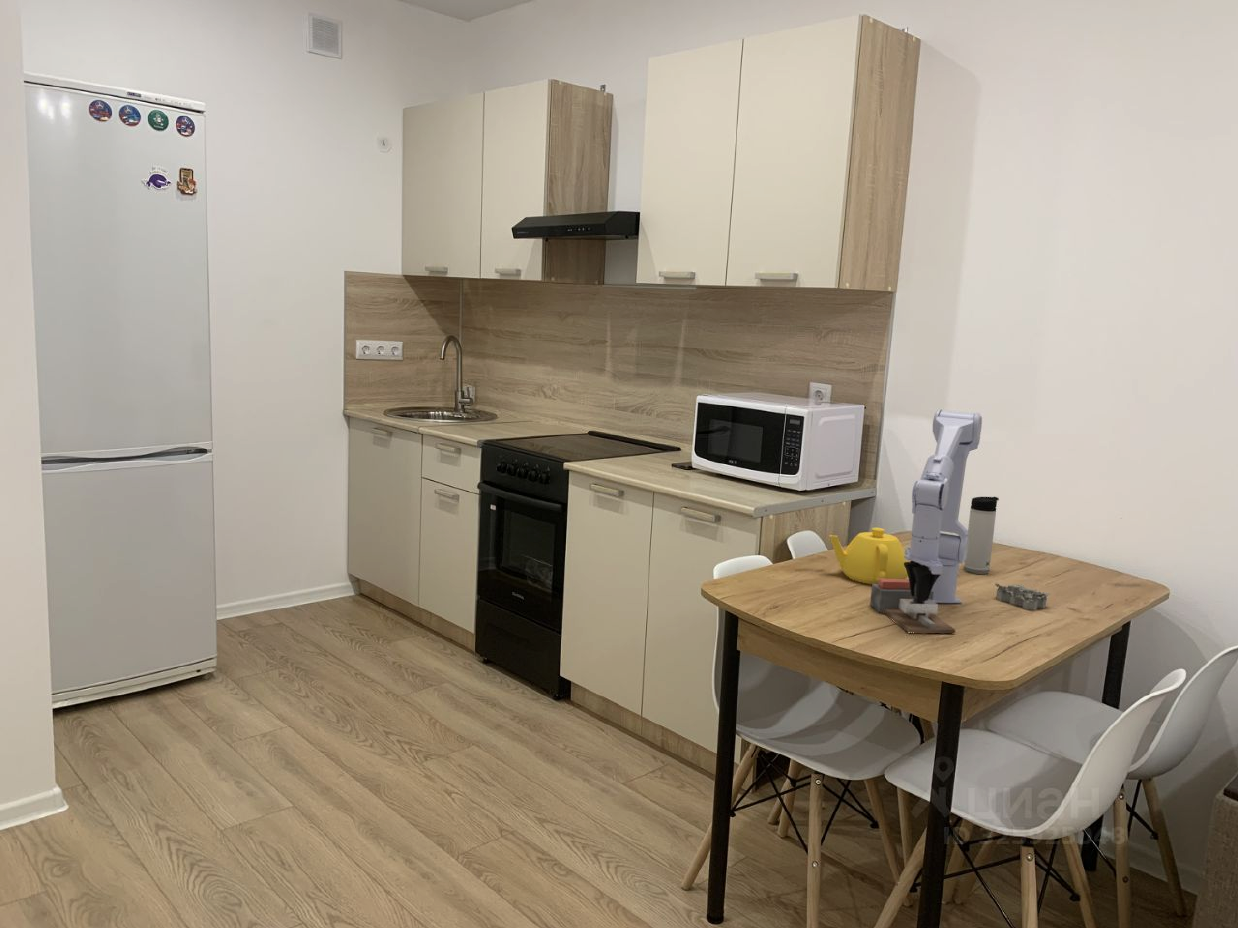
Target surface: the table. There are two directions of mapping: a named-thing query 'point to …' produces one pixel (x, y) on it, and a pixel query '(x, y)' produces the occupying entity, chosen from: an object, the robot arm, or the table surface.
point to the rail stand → (889, 604)
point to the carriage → (917, 606)
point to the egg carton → (1021, 596)
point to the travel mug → (980, 534)
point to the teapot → (871, 557)
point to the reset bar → (894, 583)
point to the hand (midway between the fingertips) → (919, 597)
